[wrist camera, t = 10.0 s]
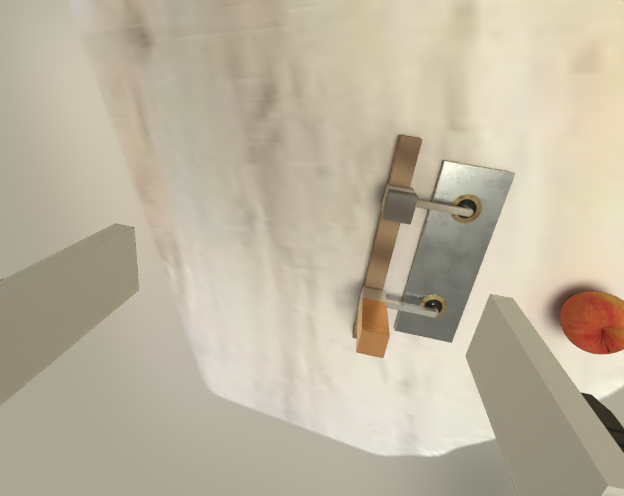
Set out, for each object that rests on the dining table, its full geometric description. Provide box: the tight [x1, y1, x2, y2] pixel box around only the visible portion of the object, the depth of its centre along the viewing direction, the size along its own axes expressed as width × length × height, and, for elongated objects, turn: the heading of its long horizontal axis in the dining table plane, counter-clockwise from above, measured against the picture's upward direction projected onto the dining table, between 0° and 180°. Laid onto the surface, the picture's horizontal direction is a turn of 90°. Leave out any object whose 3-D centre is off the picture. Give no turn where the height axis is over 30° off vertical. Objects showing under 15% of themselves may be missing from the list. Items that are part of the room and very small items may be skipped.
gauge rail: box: [353, 135, 474, 339], centre depth 43 cm, size 28×10×7 cm, turn 171°
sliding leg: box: [356, 287, 439, 358], centre depth 43 cm, size 3×10×11 cm, turn 81°
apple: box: [560, 291, 624, 354], centre depth 42 cm, size 7×7×8 cm
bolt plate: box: [395, 160, 515, 343], centre depth 46 cm, size 24×8×1 cm, turn 171°
